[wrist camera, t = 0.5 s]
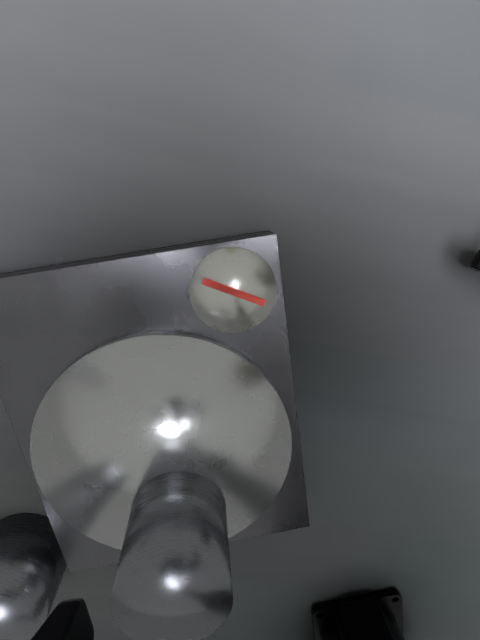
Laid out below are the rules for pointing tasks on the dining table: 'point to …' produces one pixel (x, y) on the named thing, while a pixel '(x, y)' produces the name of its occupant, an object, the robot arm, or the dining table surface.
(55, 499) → the dial scale
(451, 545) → the dining table surface
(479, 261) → the valve
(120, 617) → the cylinder
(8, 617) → the steel spacer
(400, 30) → the dining table surface
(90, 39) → the dining table surface
